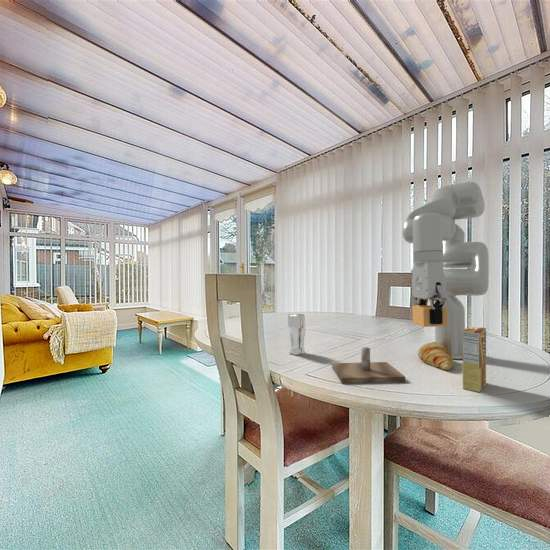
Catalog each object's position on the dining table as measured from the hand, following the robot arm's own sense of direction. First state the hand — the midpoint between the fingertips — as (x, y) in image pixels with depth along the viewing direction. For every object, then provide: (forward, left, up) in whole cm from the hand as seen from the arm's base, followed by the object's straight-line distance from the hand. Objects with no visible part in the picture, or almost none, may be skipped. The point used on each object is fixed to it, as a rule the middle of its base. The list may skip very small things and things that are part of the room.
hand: (429, 321), depth 85 cm
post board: (+16, -7, -17) cm, 24 cm away
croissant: (-10, -18, -17) cm, 27 cm away
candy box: (-10, +4, -17) cm, 20 cm away
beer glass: (+35, -33, -17) cm, 51 cm away
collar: (0, 0, -1) cm, 1 cm away
